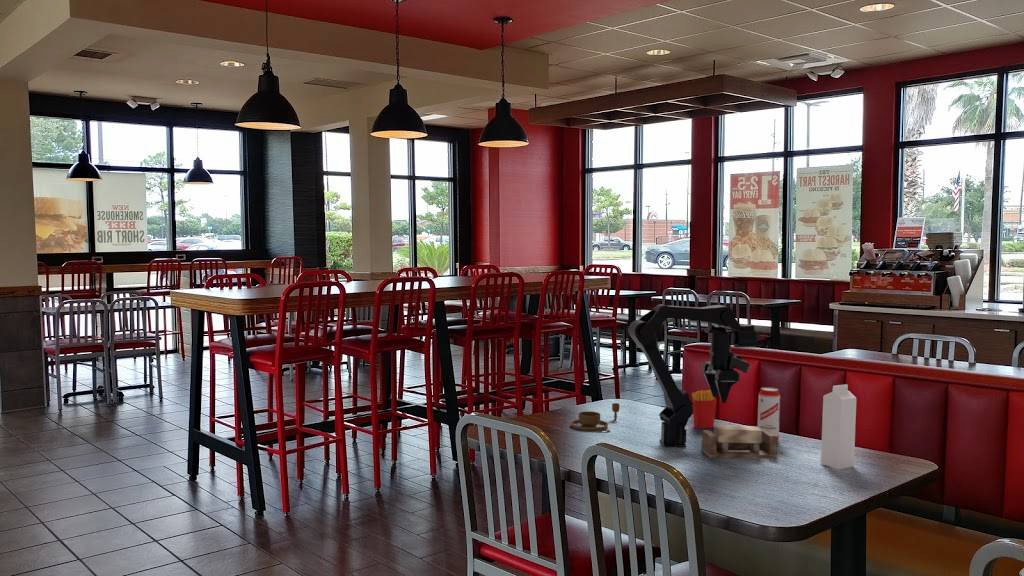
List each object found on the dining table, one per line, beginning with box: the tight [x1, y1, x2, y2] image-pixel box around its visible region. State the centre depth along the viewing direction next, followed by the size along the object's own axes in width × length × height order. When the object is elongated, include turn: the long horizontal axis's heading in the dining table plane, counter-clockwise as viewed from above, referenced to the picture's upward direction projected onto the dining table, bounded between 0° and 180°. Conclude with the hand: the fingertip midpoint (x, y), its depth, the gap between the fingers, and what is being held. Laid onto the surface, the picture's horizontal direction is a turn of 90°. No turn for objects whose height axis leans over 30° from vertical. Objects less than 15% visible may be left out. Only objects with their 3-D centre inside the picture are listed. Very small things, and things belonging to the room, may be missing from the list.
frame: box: [700, 429, 778, 459], centre depth 225 cm, size 19×8×6 cm, turn 94°
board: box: [713, 425, 762, 443], centre depth 225 cm, size 12×5×4 cm, turn 88°
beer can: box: [756, 386, 781, 443], centre depth 240 cm, size 6×6×16 cm
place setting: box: [570, 402, 620, 433], centre depth 257 cm, size 18×20×6 cm
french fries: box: [691, 389, 718, 429], centre depth 258 cm, size 8×4×12 cm, turn 111°
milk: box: [820, 383, 857, 471], centre depth 214 cm, size 6×6×22 cm
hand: (719, 399), depth 237 cm, fingers open, 9 cm apart
